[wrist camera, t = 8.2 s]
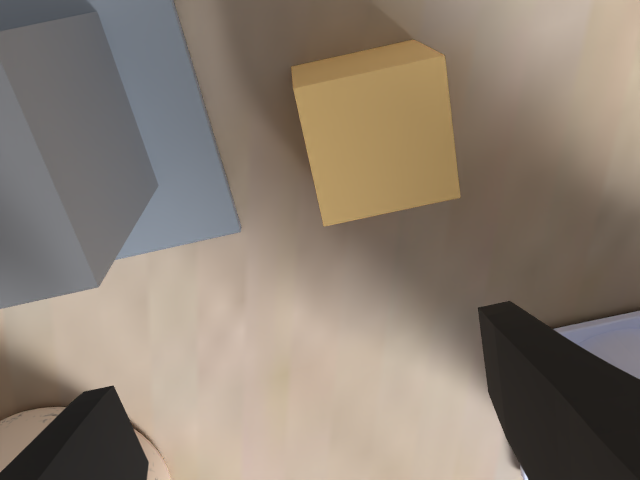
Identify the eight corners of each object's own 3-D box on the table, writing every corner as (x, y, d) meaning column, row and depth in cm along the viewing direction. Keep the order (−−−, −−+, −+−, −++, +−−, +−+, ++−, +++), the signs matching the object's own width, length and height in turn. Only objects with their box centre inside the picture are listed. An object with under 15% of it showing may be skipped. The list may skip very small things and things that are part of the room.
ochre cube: (413, 38, 19) (444, 55, 15) (428, 157, 20) (460, 197, 17) (291, 66, 19) (293, 88, 15) (316, 181, 20) (323, 226, 17)
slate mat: (148, -85, 17) (144, -86, 16) (241, 227, 21) (240, 232, 21) (-181, -4, 17) (-192, -4, 17) (-25, 286, 21) (-31, 292, 21)
